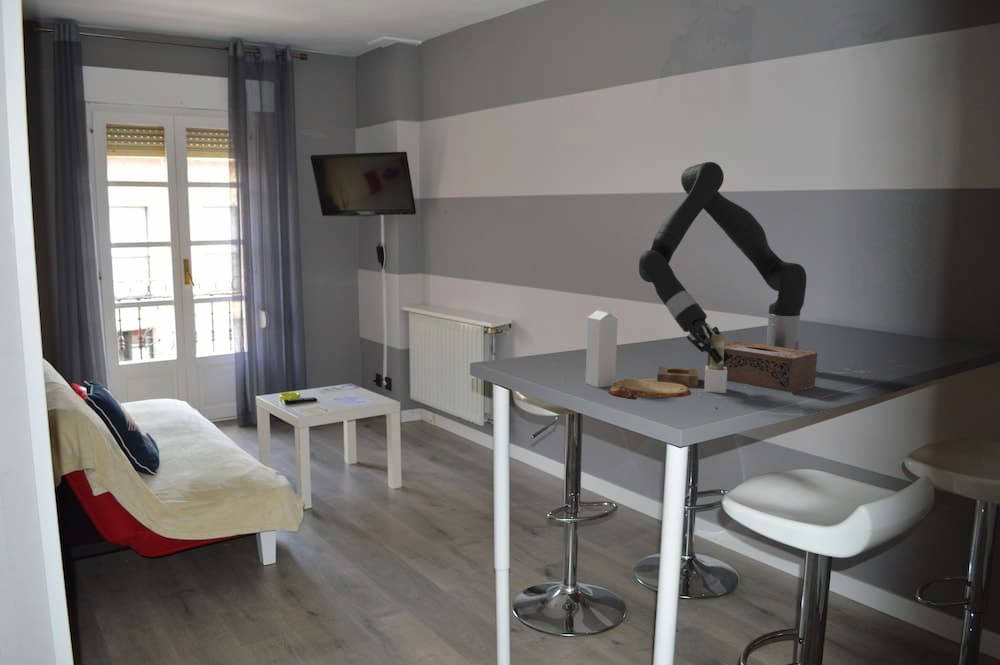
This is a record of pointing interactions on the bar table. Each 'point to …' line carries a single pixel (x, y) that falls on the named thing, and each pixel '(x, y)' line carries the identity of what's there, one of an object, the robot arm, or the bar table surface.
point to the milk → (601, 348)
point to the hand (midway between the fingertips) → (723, 360)
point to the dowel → (718, 344)
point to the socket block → (678, 376)
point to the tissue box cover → (770, 366)
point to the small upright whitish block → (715, 380)
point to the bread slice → (647, 389)
